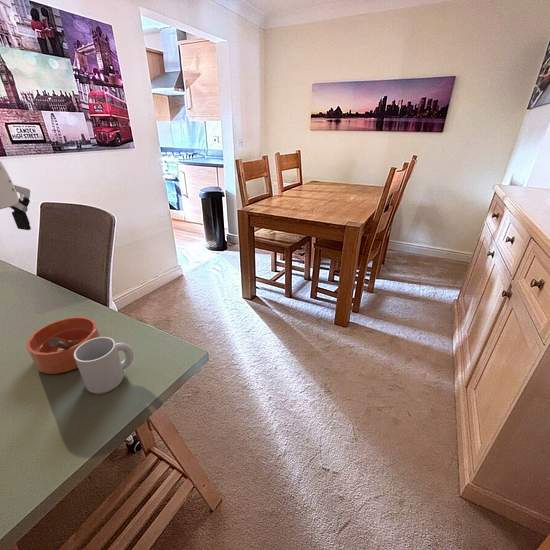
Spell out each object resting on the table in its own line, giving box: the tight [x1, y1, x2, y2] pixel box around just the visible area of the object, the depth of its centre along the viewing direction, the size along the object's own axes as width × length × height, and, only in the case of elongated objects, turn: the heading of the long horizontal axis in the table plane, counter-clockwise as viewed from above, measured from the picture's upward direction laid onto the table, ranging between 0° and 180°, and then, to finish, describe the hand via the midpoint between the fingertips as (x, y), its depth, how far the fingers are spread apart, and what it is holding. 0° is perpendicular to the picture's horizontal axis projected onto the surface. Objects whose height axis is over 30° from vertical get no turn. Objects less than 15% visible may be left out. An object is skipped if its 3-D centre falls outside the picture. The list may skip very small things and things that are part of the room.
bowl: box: [25, 316, 101, 375], centre depth 69 cm, size 13×13×6 cm
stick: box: [49, 337, 80, 349], centre depth 64 cm, size 3×3×14 cm
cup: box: [74, 336, 134, 395], centre depth 62 cm, size 7×10×9 cm
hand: (2, 236), depth 65 cm, fingers open, 9 cm apart
